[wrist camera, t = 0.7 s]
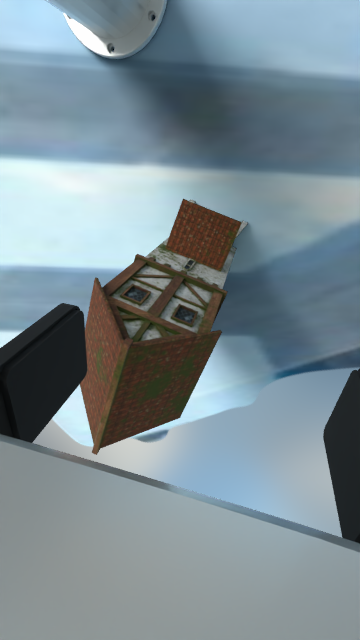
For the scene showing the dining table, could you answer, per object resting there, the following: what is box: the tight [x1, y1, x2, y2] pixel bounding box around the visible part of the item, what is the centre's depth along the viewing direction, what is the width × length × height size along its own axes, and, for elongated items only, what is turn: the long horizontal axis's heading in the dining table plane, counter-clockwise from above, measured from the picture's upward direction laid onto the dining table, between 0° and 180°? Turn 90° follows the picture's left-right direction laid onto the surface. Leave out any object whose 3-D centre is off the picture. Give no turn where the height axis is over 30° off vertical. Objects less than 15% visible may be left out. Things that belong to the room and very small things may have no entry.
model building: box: [80, 199, 248, 455], centre depth 31 cm, size 10×15×30 cm
